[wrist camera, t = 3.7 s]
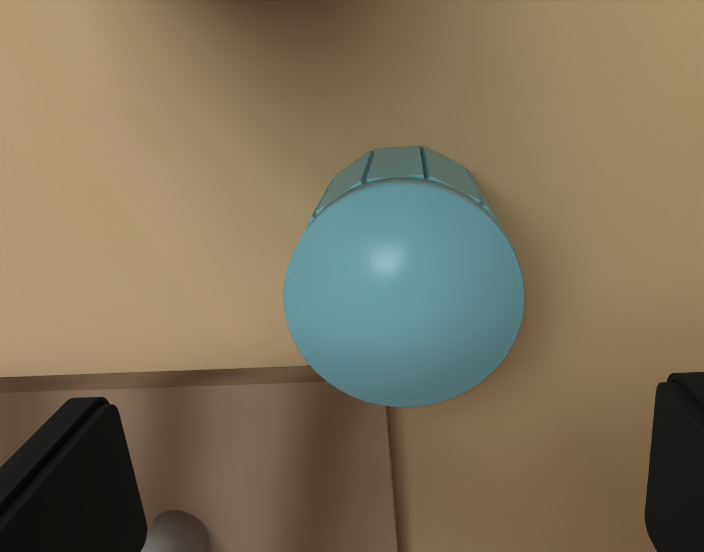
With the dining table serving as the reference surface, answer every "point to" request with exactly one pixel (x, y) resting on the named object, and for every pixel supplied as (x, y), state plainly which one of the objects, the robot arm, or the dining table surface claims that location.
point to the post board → (236, 456)
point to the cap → (404, 281)
